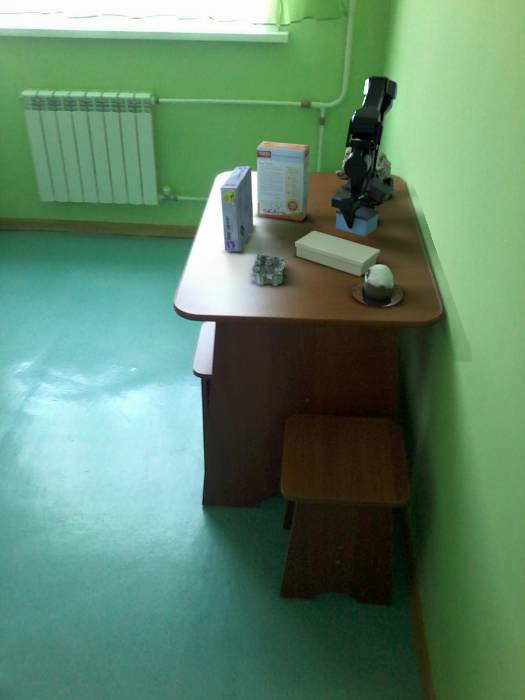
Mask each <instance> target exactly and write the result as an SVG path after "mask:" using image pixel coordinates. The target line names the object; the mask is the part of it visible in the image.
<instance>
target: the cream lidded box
mask: <svg viewBox="0 0 525 700" xmlns="http://www.w3.org/2000/svg"><path fill="white" fill-rule="evenodd" d="M294 247H296V254H295V255H296V257H298V258H302V259H305V260H307V261H310V262H314V263H317V264H319V265H324V266H326V267H329V268H333V269H336V270H339V271H342V272H345V273H348V274H351V275H354V276H357V277H362V276H363V275H365V273H366V272H368V269H369V268H370V267H372V266H374V265H377V257H378V256H380V254H381V249H378V248H375V247H371V246H368V245H366V244H361V243H359V242H354V241H351V240H347V239H344V238H340V237H337V236H334V235H331V234H327V233H324V232H320V231H318V230H312V231H310V232H309V233H307V234H306V235H304V236H302V237H301V238H299V239H297V240H296V241H294Z"/></svg>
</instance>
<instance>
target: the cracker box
mask: <svg viewBox="0 0 525 700" xmlns="http://www.w3.org/2000/svg"><path fill="white" fill-rule="evenodd" d="M309 169H310V145H309V144H299V143H298V144H297V143H288V142H287V143H286V142H276V141H265V140H263V141H262V142H261V143H259V145H258V146H256V183H257V185H256V186H257V188H256V189H257V194H256V195H257V197H256V199H257V201H256V202H257V216H258V217H263V218H264V217H265V218H273V219H281V220H289V221H297V222H303V221H304V220H305V218H306V216H307V215H308V200H309V199H308V198H309V173H310V171H309Z"/></svg>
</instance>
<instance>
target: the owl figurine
mask: <svg viewBox="0 0 525 700" xmlns="http://www.w3.org/2000/svg"><path fill="white" fill-rule="evenodd" d="M350 153H351V148H350V147H346V150H345V154H344V159H343V160H342V166H341V167H342V168H341V169H339V170H335V175H336V176H337V177H338V179H340V180H342V181H347V182H346V183H344V184H341V185H340V186H339V187H338V188H337V191H336V192H337V195H338V194H339V193H341V192H343V193H347V194H349V193H350V191H346V190H345V188H346V186H347V185H349V177H348V176H347V175H346V174H345V172H344V164H345V162H346V160H347V159H348V157H349V155H350ZM391 170H392V162H391V161H390V160H389V159H388V157H387V154H386V153H385V152H383V151H379V158H378V164H377V172H378V175H379V177H380V179H381V178H382V179H383V180H385V179H386V178H388V177H391V172H392V171H391ZM390 197H391V194H390V195H389V197H388V199H389V198H390Z"/></svg>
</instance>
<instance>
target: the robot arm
mask: <svg viewBox="0 0 525 700" xmlns="http://www.w3.org/2000/svg"><path fill="white" fill-rule="evenodd" d="M397 94H398V83H397V82H396V81H394V80H391V79H390V77H387V76H386V75H371V76H369V77H368V78H367V79H366V80H365V82H364V90H363V97H364V99H363V103H362V106H361V107H360V108H358V109H356V110H355V112H354V114H353V116H352V118H350V119H349V123H348V128H347V135H346V140H345V148H349V147H350V148H351V153H350V155H349V157H348V159H347V160H346V162H345V164H344V172H345V174H346V175H347V176H348V177H349V181H348V182H349V185H347V186H346V188H345V190H346V191H350V193H349V194H347V193H343V192H341V193H339V194H338V193H337V194H336V195H334V196H333V197H332V198H331V200H330V206H331V207H332V208H335V209H340V211H341V213H342V215H343V217H344V219H345V222H346V224H347V226H348V228H350V229H352V227H353V223H354V219H355V214H356V211H357V210H358V209H359V208H361V206H363V207H367V208H371V209H375V210H376V207H380V206H381V205H383V204H384V202H385V201H386V200H388V199H389V198H390V197H389V195H390V196H391V194H392V192H394V191H395V190H394V189H395V186H394V184H395V183H394V178H393V177H391V176H389V177H388V178H386V179H385V180H383V179H382V178H381V179H380V177H379V175H378V172H377V164H378V158H379V152H381V144H382V138H383V134H384V128H385V127H384V125H385V119H386V116H387V114H388V113H389V112H390V110H392V108H393V105H394V101H395V100H396V99H397ZM388 197H389V198H388ZM358 205H360V206H358ZM378 222H379V218H378V219H377V223H378Z"/></svg>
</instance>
